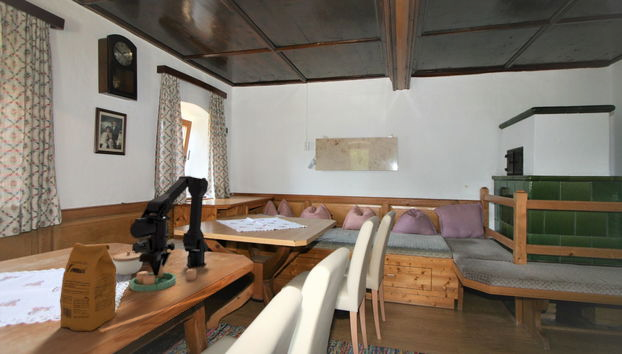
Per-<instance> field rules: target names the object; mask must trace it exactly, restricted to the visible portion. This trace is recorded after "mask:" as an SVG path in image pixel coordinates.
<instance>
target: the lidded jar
mask: <svg viewBox="0 0 622 354" xmlns="http://www.w3.org/2000/svg"><path fill="white" fill-rule="evenodd" d="M141 254H142V253H140V252H139V253H137V254H136V253H135V252H134V251H130V250H127V251H126V252H122V253H118V254H115V255H113V256H112V261H113V263H114V264H115V267H116V274H117V275H120V276H128V275H133V274H137V273H138V272H140V270H141V269H142V266H143V265H144V264H143V262H139V256H140V255H141Z"/></svg>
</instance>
